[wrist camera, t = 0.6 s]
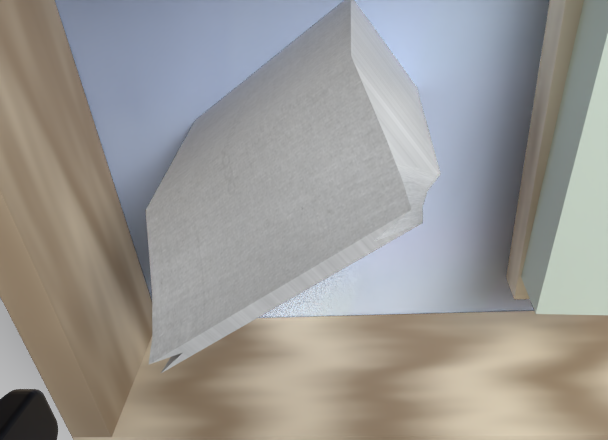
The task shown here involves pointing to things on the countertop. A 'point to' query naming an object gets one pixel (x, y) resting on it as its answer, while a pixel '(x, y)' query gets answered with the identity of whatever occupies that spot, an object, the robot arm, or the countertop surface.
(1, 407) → the robot arm
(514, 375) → the beige shallow tray
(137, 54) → the countertop surface
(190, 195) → the white printed packet
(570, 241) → the offcut top
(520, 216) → the offcut low
